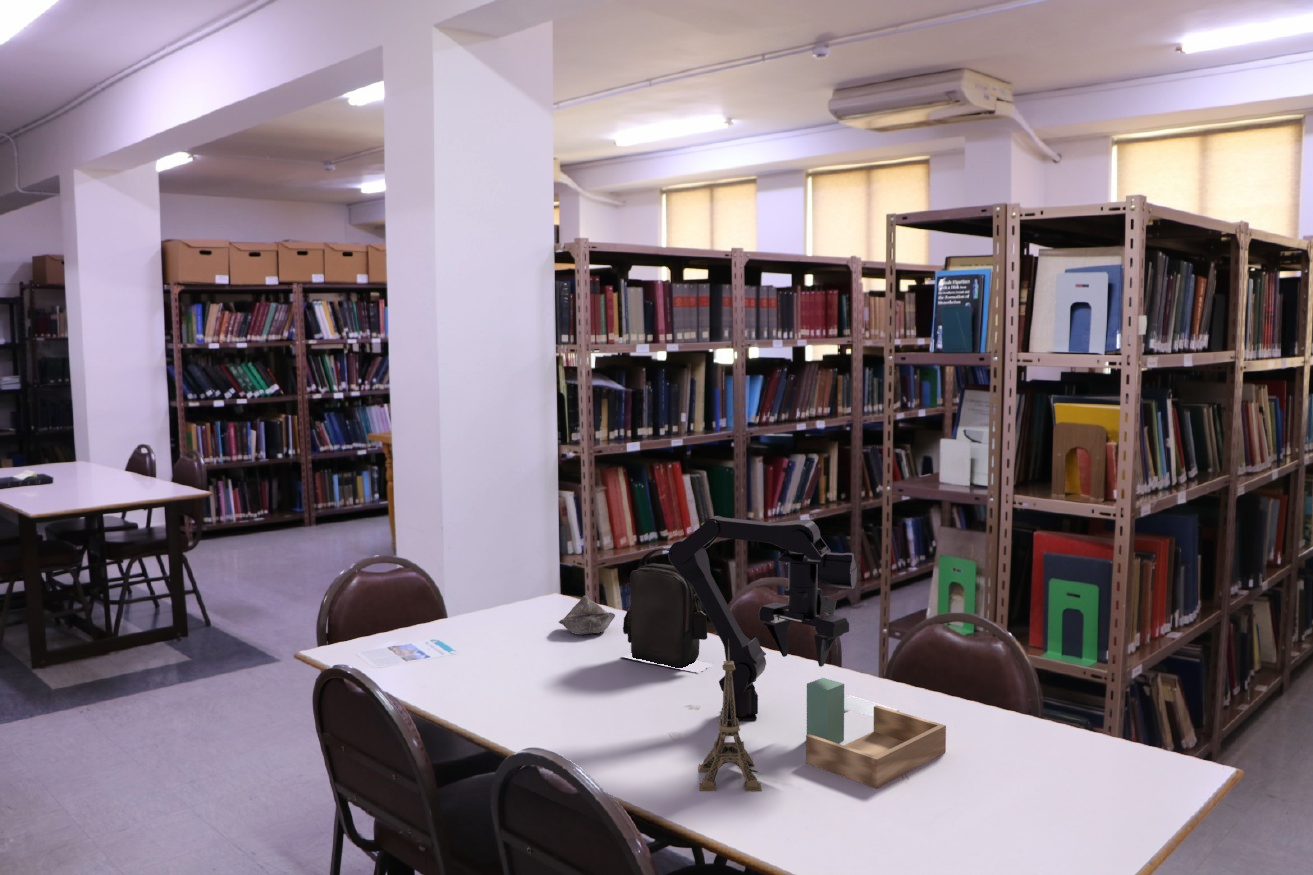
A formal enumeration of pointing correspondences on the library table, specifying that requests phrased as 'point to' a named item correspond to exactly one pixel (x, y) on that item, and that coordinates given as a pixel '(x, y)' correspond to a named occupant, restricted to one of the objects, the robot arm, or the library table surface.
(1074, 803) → the library table surface
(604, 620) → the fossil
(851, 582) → the robot arm
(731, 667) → the eiffel tower
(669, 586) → the shoulder bag
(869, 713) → the white flat slab
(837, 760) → the oak crate
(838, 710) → the green block
